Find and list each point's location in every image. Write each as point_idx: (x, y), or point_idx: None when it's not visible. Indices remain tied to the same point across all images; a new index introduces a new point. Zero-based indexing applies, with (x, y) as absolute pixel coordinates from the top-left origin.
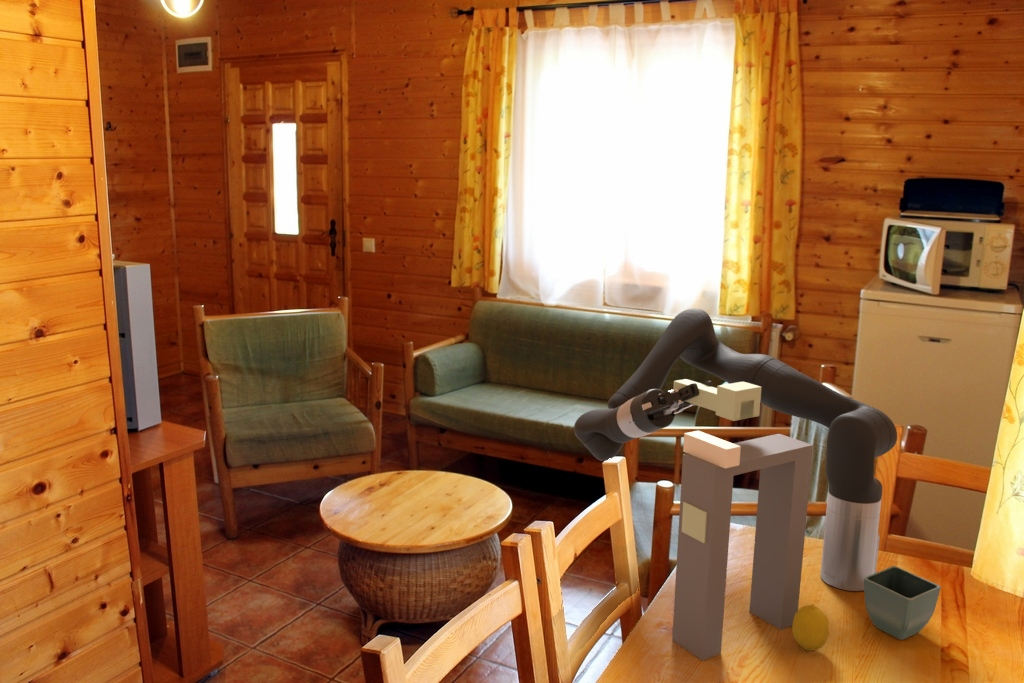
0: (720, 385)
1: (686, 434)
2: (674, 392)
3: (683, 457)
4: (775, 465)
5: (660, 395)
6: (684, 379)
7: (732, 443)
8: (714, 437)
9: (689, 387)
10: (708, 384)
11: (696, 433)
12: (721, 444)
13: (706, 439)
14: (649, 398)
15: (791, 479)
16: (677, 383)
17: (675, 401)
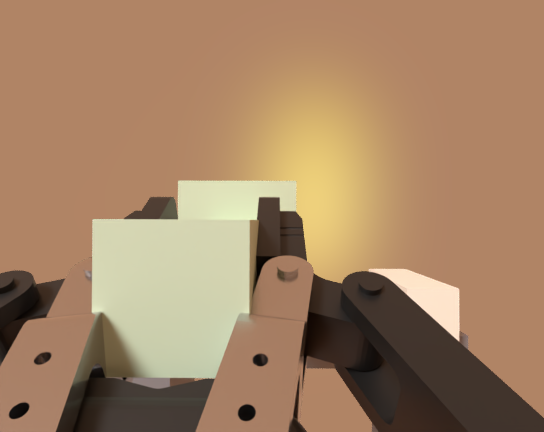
0: (284, 181)
1: (455, 288)
2: (312, 285)
3: (466, 342)
4: (182, 379)
5: (423, 323)
6: (125, 219)
7: (374, 271)
8: (391, 278)
9: (296, 216)
10: (174, 213)
11: (424, 285)
12: (400, 272)
13: (418, 278)
14: (528, 411)
15: (193, 378)
16: (253, 231)
17: (305, 350)
